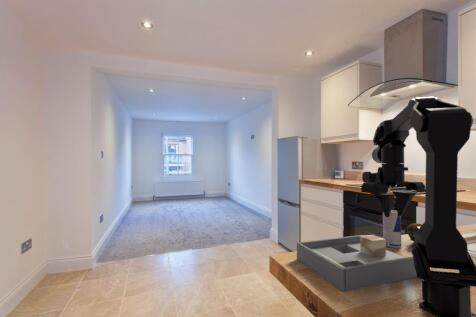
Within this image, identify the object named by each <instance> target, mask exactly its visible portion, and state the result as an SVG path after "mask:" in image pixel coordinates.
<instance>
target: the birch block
mask: <svg viewBox="0 0 476 317" xmlns="http://www.w3.org/2000/svg"><path fill="white" fill-rule="evenodd" d="M365 235H366V234H365ZM386 247H387V246H386V239H383V237H380V236H377V235H374V234H369V235H368V234H367V235H366V236H360V252H362V253H365V254H367V255H369V256H371V257H379V256H385V255H386V250H387V248H386Z"/></svg>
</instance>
